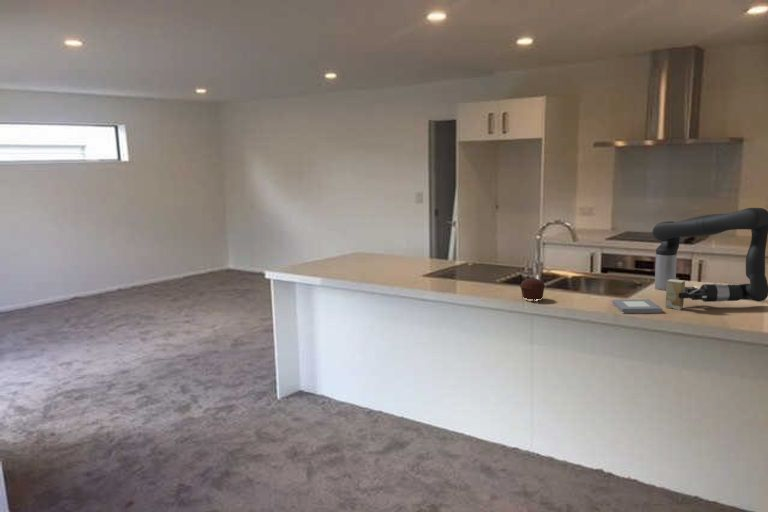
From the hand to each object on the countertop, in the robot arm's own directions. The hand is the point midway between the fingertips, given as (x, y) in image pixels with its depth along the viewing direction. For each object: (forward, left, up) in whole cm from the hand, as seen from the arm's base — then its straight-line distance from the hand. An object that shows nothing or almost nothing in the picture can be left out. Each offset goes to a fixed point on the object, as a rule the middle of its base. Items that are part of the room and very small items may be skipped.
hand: (675, 293), depth 252 cm
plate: (0, -16, -7) cm, 17 cm away
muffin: (-18, -58, -7) cm, 61 cm away
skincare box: (0, 0, -7) cm, 7 cm away
